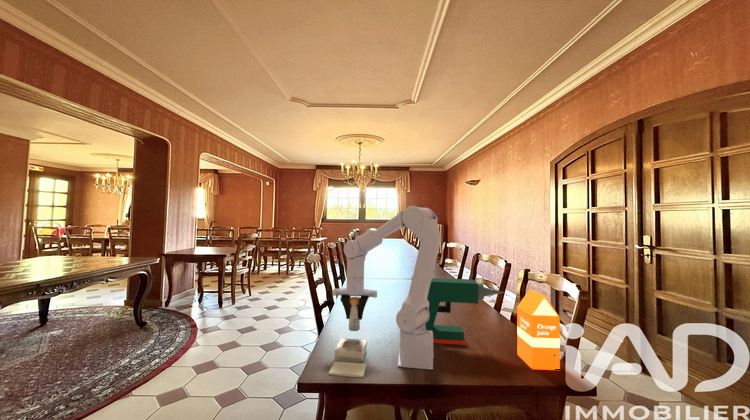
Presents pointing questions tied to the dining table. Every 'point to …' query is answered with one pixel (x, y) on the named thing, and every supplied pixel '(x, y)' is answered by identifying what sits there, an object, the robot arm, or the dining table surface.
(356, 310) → the orange capped bottle
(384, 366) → the dining table surface
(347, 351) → the block
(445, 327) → the power tool
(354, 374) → the key mat
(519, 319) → the orange juice
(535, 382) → the dining table surface
